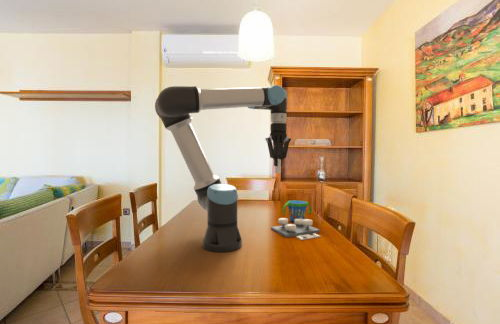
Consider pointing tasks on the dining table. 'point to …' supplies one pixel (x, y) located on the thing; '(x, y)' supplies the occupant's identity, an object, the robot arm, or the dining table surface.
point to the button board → (299, 230)
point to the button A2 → (283, 221)
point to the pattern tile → (308, 236)
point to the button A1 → (290, 227)
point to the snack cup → (297, 209)
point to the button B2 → (298, 222)
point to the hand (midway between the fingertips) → (278, 173)
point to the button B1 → (307, 222)
